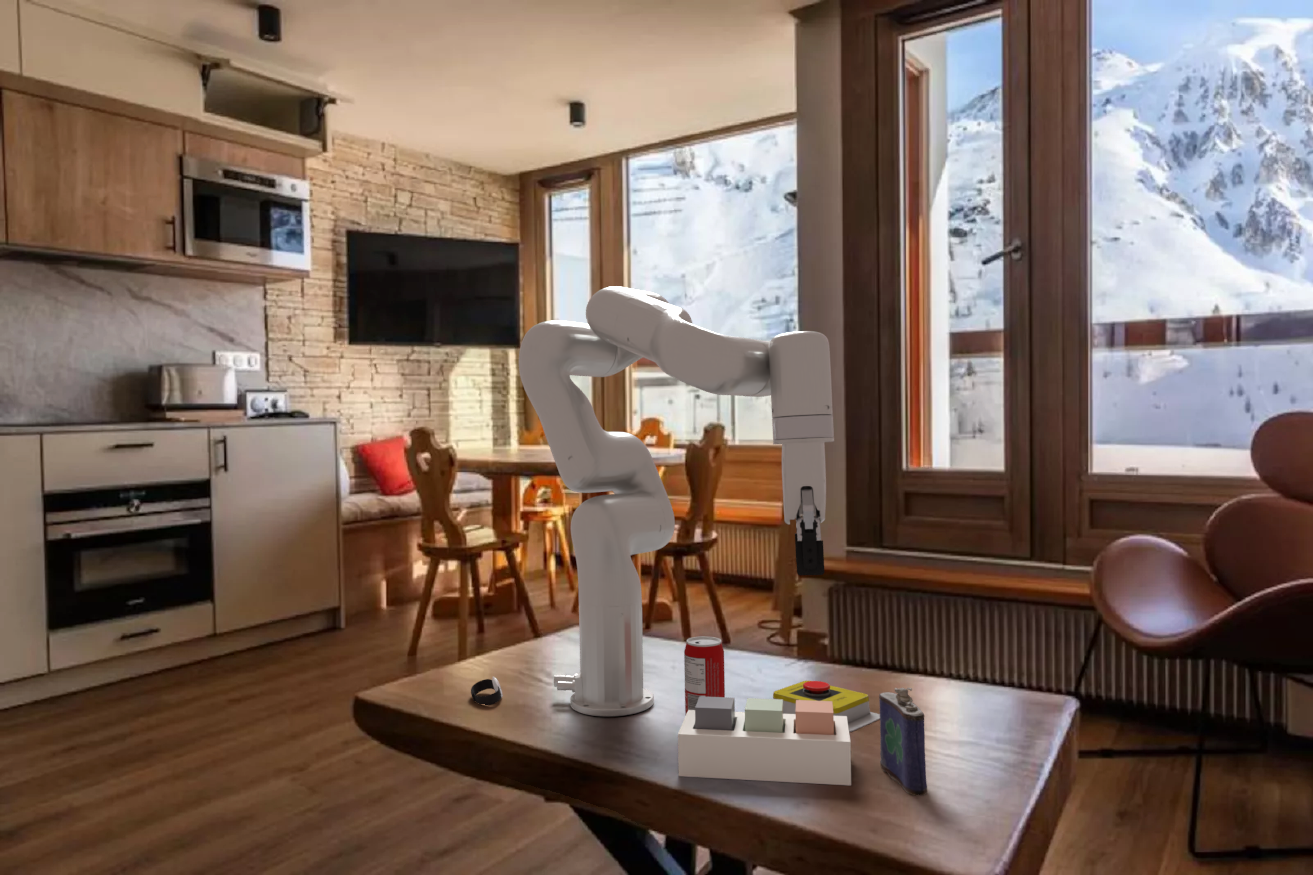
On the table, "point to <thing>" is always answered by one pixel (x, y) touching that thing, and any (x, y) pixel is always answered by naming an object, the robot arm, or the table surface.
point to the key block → (765, 753)
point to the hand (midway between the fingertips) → (809, 569)
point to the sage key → (764, 715)
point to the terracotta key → (814, 717)
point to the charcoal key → (715, 713)
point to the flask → (903, 741)
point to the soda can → (703, 670)
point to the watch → (483, 686)
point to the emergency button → (842, 700)
